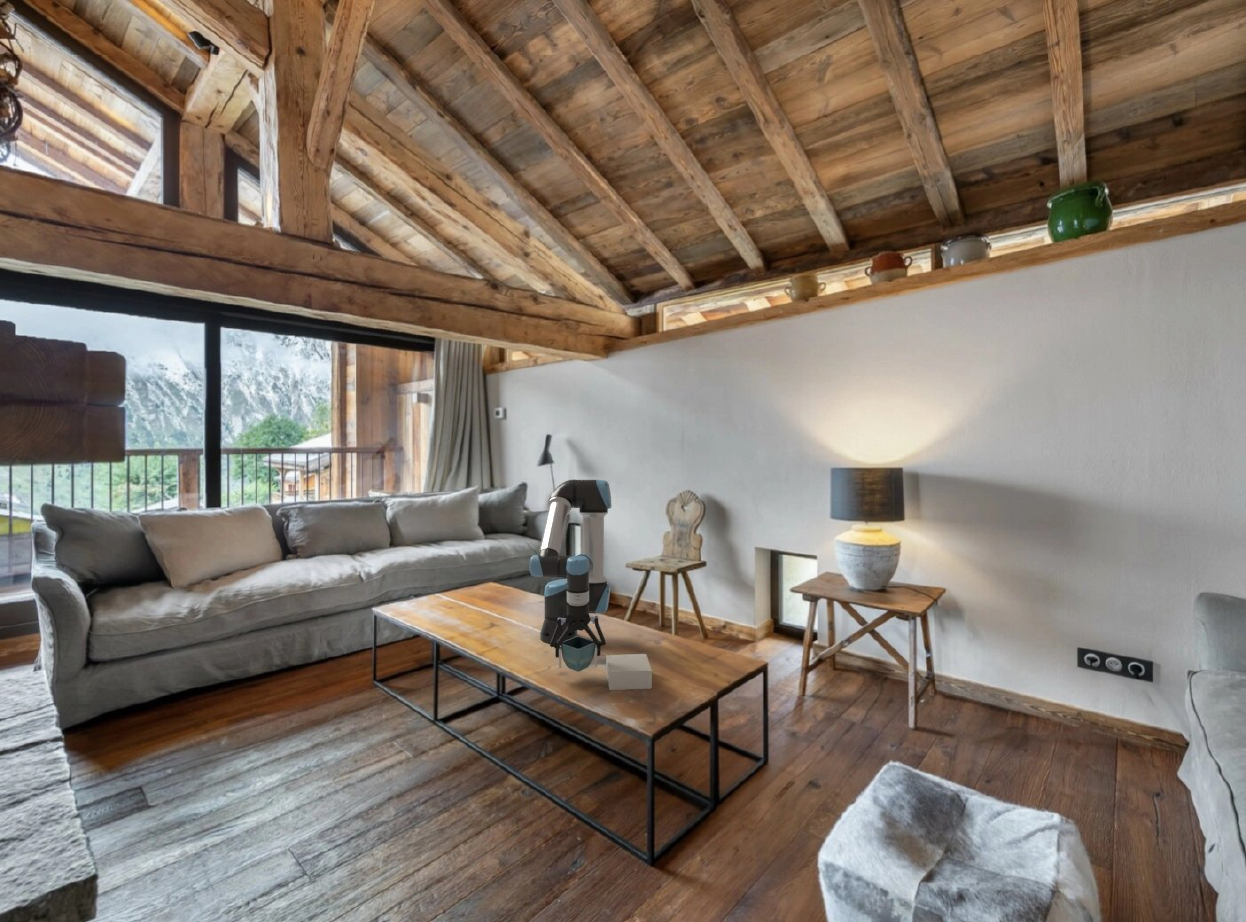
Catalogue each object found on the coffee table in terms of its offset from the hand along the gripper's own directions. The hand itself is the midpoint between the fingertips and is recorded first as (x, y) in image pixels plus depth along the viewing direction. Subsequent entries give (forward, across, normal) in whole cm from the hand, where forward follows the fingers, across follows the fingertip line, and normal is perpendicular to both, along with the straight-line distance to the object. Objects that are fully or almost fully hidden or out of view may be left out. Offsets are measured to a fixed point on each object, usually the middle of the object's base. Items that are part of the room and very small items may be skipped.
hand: (578, 665), depth 188 cm
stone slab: (+4, +17, -3) cm, 18 cm away
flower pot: (+1, 0, 0) cm, 1 cm away
